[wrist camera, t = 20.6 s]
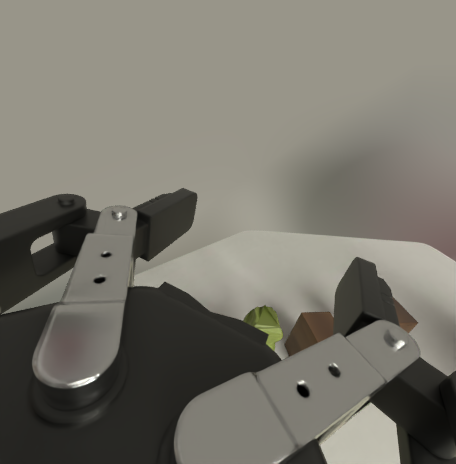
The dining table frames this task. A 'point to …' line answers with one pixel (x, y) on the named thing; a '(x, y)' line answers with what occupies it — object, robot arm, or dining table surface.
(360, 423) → the dining table surface
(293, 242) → the dining table surface
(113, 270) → the robot arm
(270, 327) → the olive green lumpy piece
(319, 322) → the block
